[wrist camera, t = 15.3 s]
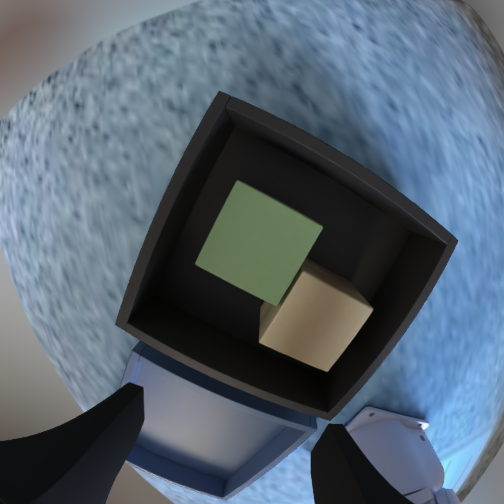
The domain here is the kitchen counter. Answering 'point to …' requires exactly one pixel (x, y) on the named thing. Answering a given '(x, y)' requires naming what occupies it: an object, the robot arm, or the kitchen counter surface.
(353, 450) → the robot arm
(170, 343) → the black basket
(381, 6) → the kitchen counter surface
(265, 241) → the green cube
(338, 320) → the cream cube
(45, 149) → the kitchen counter surface
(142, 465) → the blue box
